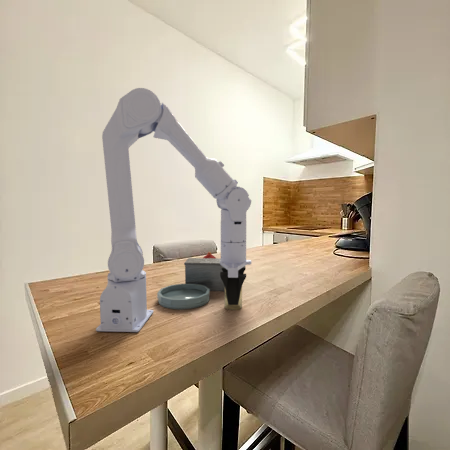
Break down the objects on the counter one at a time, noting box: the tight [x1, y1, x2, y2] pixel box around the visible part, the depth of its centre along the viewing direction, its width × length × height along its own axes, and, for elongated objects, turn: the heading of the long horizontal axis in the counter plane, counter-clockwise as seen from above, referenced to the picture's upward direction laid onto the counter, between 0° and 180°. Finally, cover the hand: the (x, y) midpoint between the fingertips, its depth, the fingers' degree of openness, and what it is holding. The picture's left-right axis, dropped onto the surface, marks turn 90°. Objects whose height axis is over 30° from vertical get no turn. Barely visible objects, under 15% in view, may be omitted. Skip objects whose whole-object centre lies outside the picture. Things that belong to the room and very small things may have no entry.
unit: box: [183, 257, 225, 292], centre depth 76 cm, size 6×12×8 cm, turn 88°
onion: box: [202, 251, 216, 258], centre depth 88 cm, size 6×6×8 cm
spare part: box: [224, 287, 243, 311], centre depth 62 cm, size 4×4×6 cm
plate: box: [156, 283, 211, 310], centre depth 67 cm, size 12×12×2 cm
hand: (233, 300), depth 62 cm, fingers closed on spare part, 4 cm apart
